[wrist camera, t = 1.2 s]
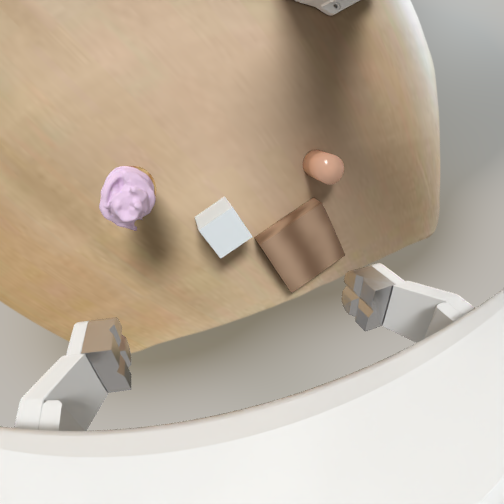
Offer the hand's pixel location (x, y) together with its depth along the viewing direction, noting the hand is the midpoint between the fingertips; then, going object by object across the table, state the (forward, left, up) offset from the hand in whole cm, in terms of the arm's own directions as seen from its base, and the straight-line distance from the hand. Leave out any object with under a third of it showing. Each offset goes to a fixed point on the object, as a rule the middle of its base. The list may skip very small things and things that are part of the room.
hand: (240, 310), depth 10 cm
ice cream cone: (+7, -2, -34) cm, 35 cm away
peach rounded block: (-17, +12, -34) cm, 40 cm away
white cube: (+1, +11, -34) cm, 36 cm away
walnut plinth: (-8, +23, -34) cm, 42 cm away
